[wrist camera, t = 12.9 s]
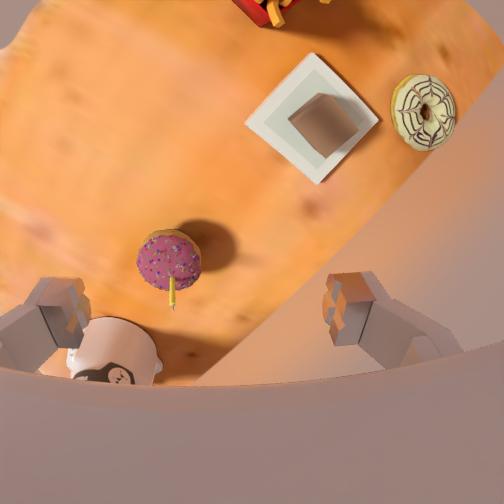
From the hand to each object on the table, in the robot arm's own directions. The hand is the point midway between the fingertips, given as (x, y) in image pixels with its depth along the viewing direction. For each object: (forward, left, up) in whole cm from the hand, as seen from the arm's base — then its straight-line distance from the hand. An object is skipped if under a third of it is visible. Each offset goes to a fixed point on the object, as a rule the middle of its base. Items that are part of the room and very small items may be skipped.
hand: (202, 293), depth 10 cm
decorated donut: (+21, -18, -32) cm, 42 cm away
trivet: (+9, -8, -31) cm, 33 cm away
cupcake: (-16, -5, -31) cm, 36 cm away
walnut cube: (+9, -8, -30) cm, 32 cm away
